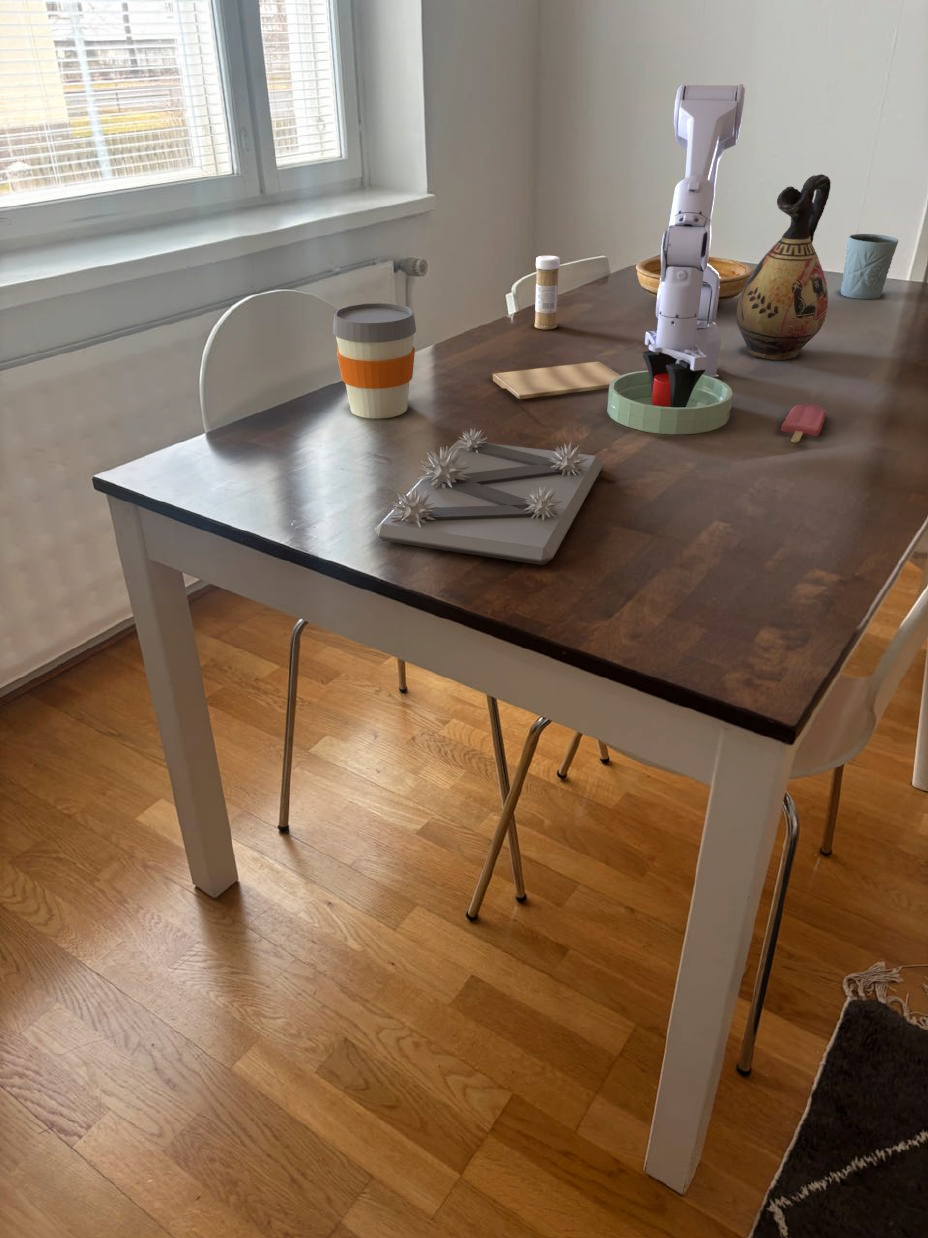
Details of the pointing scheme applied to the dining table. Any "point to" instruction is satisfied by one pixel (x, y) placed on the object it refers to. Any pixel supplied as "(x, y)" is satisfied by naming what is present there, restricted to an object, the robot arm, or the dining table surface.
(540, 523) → the decorative plate
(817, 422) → the popsicle
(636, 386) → the bowl
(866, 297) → the blue embossed cup
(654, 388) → the pepper
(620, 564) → the dining table surface
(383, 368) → the reusable coffee cup
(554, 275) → the sprinkles bottle
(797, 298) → the ceramic jug
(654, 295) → the ceramic bowl
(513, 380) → the cutting board
